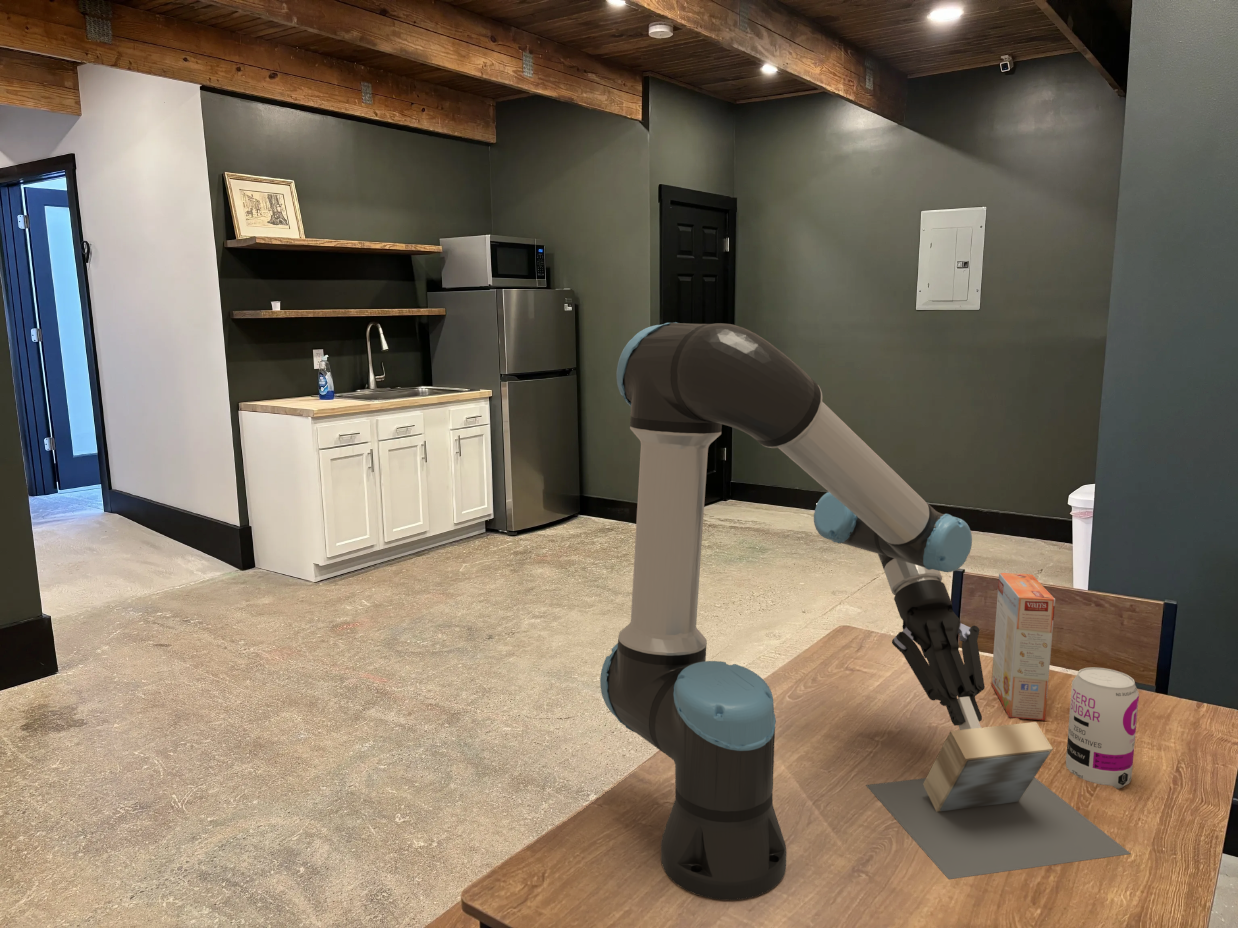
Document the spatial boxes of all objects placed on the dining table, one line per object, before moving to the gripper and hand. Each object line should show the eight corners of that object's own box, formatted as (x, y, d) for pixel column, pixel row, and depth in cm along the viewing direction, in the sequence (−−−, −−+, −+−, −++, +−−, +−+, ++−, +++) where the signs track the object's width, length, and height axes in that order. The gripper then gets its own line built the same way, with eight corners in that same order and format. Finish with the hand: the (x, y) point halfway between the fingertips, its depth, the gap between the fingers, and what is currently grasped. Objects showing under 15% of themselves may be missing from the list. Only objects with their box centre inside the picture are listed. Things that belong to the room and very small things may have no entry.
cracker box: (1048, 722, 142) (1057, 598, 138) (1008, 719, 143) (1016, 596, 139) (1026, 686, 155) (1034, 572, 152) (990, 684, 156) (997, 571, 153)
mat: (948, 886, 101) (948, 878, 101) (865, 791, 122) (865, 784, 122) (1130, 860, 106) (1131, 853, 106) (1021, 773, 126) (1021, 766, 126)
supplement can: (1137, 775, 125) (1146, 675, 123) (1121, 798, 119) (1130, 694, 117) (1075, 756, 131) (1083, 661, 128) (1057, 777, 125) (1065, 678, 122)
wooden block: (937, 813, 115) (966, 760, 107) (923, 783, 118) (950, 730, 111) (1019, 802, 117) (1054, 750, 110) (1003, 774, 120) (1035, 721, 113)
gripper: (947, 597, 134) (1007, 751, 121) (868, 603, 132) (921, 761, 118) (969, 574, 128) (1035, 733, 115) (887, 580, 126) (945, 743, 112)
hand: (977, 747), depth 117 cm, fingers closed
